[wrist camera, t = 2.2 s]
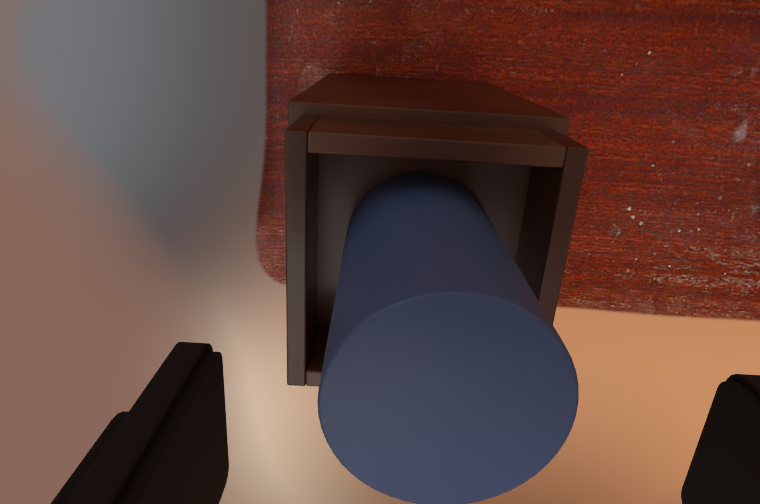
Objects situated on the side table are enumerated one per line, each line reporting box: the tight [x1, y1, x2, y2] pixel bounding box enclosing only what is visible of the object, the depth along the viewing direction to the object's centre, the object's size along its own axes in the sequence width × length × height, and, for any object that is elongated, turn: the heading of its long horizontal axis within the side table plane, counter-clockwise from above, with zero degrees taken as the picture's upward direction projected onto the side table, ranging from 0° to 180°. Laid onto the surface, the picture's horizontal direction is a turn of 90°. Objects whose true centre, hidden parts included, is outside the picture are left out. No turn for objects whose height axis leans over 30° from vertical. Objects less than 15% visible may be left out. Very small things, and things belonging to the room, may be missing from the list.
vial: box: [318, 172, 578, 504], centre depth 14 cm, size 5×5×9 cm
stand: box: [285, 73, 589, 386], centre depth 24 cm, size 9×9×17 cm
